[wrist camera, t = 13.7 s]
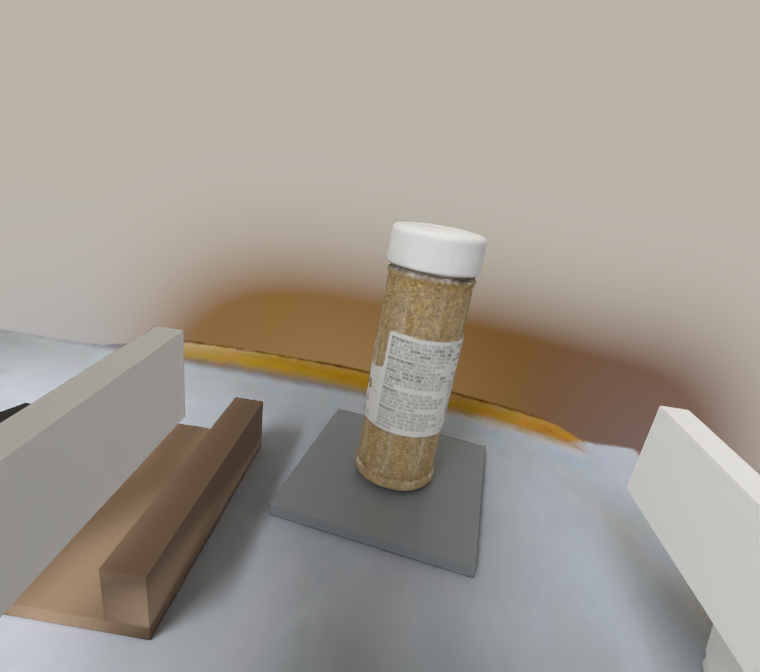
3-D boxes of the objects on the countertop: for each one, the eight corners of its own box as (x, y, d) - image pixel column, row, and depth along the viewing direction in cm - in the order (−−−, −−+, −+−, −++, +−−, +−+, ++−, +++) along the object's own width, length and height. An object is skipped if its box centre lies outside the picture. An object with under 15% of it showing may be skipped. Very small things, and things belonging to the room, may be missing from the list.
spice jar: (368, 439, 28) (405, 218, 24) (440, 461, 27) (492, 233, 23) (341, 479, 24) (381, 219, 20) (425, 506, 23) (485, 238, 19)
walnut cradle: (-127, 591, 16) (-150, 525, 15) (95, 418, 28) (90, 374, 27) (149, 639, 16) (145, 577, 15) (261, 445, 27) (262, 401, 26)
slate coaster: (268, 513, 22) (269, 504, 22) (337, 416, 32) (338, 408, 31) (472, 577, 20) (475, 567, 20) (483, 454, 30) (485, 446, 29)
